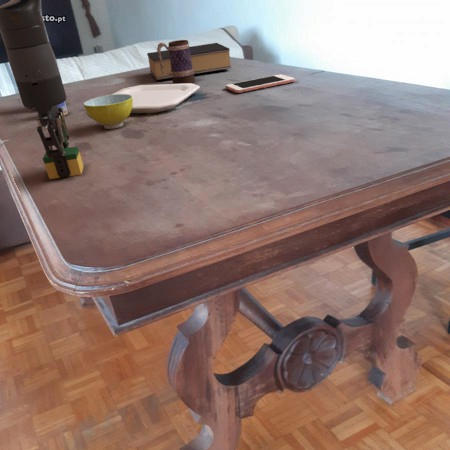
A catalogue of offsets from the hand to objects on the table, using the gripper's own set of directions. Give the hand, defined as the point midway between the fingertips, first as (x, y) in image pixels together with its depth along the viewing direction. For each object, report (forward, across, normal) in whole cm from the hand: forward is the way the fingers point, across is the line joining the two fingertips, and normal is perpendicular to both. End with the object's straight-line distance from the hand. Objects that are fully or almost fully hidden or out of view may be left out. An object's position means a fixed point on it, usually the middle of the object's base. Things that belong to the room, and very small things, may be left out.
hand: (66, 171), depth 91 cm
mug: (+1, -68, +27) cm, 73 cm away
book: (+1, -85, +32) cm, 91 cm away
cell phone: (0, -50, +49) cm, 70 cm away
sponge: (0, 0, 0) cm, 0 cm away
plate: (+1, -48, +17) cm, 51 cm away
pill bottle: (+1, -49, -8) cm, 50 cm away
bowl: (+1, -29, +8) cm, 30 cm away
